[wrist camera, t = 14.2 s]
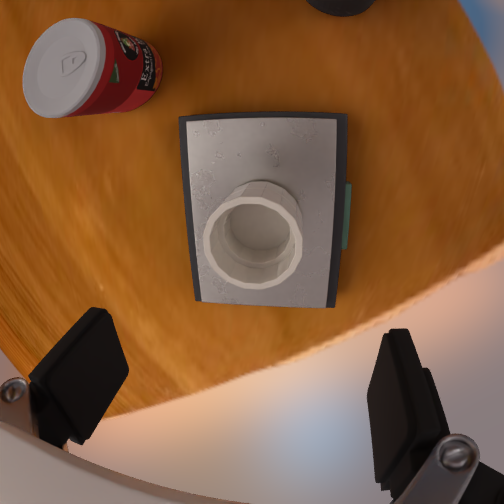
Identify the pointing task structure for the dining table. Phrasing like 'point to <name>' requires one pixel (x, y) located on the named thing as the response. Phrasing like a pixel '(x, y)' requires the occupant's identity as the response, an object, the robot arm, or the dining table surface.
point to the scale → (341, 190)
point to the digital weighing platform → (276, 172)
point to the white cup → (255, 236)
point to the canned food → (89, 70)
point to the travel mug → (341, 6)
